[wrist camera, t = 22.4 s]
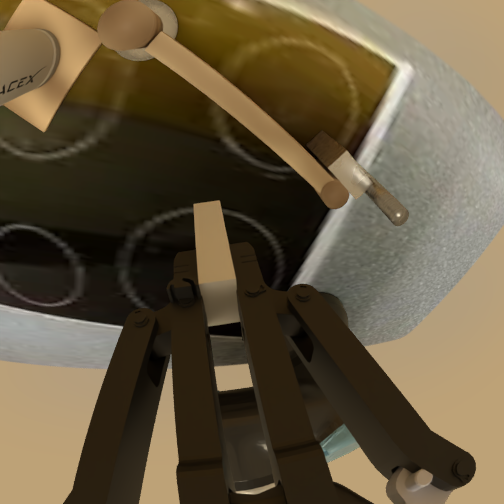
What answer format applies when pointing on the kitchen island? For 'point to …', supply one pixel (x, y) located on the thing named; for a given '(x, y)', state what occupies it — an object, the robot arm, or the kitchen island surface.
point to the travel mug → (26, 61)
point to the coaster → (70, 63)
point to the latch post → (356, 177)
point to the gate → (214, 90)
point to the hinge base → (168, 27)
